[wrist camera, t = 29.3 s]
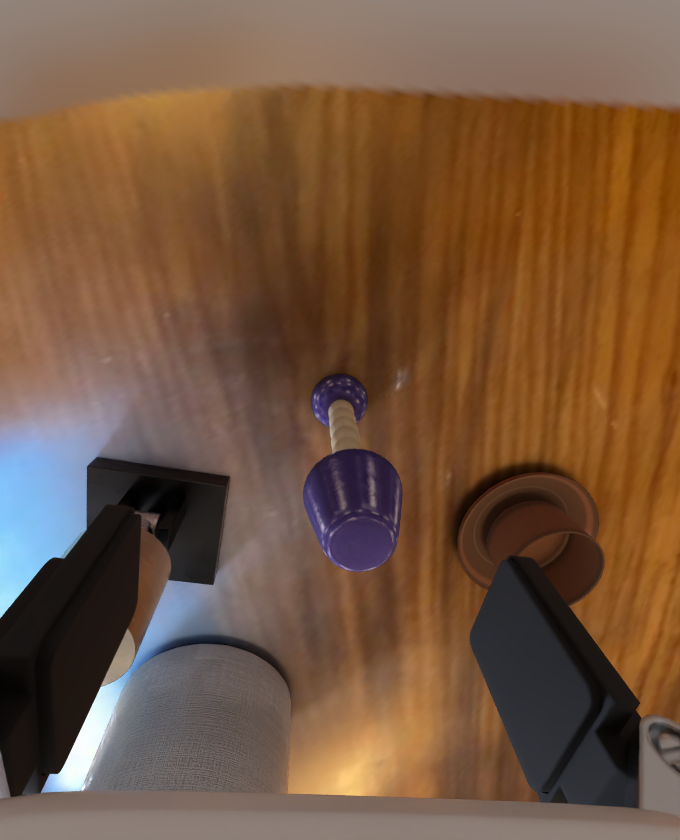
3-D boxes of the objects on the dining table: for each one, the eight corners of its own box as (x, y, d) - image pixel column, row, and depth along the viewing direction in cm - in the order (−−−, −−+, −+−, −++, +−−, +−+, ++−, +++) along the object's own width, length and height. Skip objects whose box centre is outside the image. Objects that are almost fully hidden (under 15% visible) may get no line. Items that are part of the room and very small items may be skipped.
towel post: (106, 474, 29) (-190, 799, 12) (195, 487, 30) (40, 808, 13) (104, 545, 31) (-149, 909, 14) (187, 555, 32) (46, 910, 15)
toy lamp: (359, 437, 33) (406, 596, 17) (300, 428, 32) (294, 585, 17) (372, 378, 31) (436, 496, 16) (310, 368, 31) (313, 480, 15)
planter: (317, 718, 44) (322, 944, 29) (179, 767, 45) (118, 1008, 31) (246, 611, 38) (209, 825, 24) (91, 670, 39) (-35, 909, 25)
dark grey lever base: (96, 456, 32) (38, 511, 25) (230, 476, 33) (210, 533, 27) (94, 558, 35) (42, 631, 28) (216, 572, 37) (195, 645, 30)
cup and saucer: (575, 572, 39) (620, 625, 34) (448, 585, 39) (473, 642, 33) (594, 456, 35) (650, 495, 29) (452, 470, 35) (481, 512, 29)
